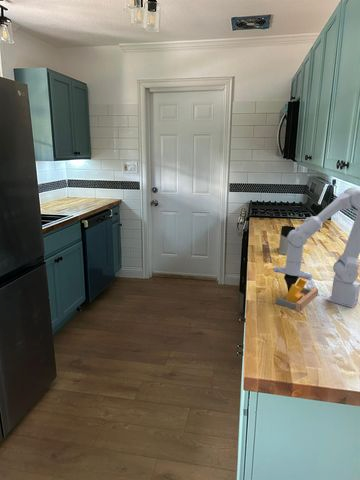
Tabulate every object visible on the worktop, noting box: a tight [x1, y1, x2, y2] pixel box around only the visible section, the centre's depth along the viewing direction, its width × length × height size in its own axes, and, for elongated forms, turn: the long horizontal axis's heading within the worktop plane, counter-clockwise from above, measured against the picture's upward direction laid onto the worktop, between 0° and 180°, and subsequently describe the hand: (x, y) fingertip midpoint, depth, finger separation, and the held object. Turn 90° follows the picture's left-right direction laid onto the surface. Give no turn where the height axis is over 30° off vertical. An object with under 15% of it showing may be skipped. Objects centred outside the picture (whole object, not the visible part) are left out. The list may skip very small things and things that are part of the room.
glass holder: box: [277, 225, 296, 256], centre depth 191 cm, size 9×14×15 cm, turn 26°
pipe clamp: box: [284, 278, 308, 303], centre depth 133 cm, size 12×4×6 cm, turn 144°
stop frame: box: [275, 287, 319, 312], centre depth 134 cm, size 10×19×3 cm, turn 139°
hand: (289, 292), depth 135 cm, fingers closed
